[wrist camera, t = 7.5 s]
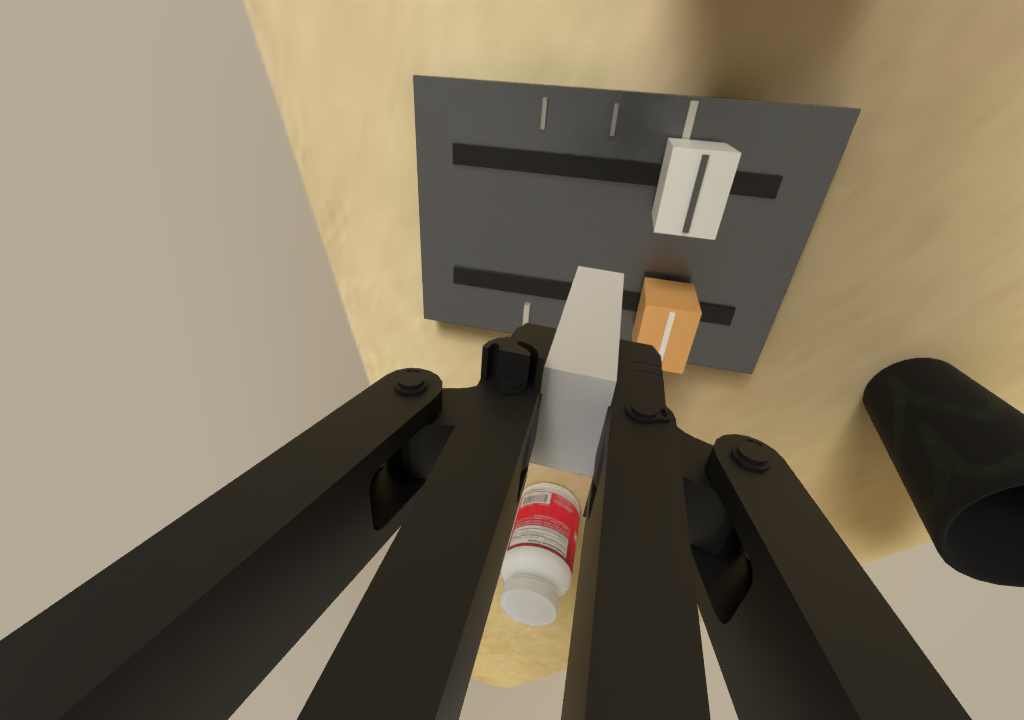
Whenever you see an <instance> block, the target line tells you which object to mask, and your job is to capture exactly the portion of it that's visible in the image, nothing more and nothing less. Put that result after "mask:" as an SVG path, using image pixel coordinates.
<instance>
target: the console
mask: <svg viewBox="0 0 1024 720" xmlns="http://www.w3.org/2000/svg"><path fill="white" fill-rule="evenodd" d="M413 84H414V106H415V128H416V150H417V172H418V194H419V216H420V238H421V260H422V282H423V304H424V319H430V320H436V321H442V322H448V323H454V324H460V325H465V326H471V327H477V328H483V329H489V330H495V331H501V332H507V333H514V331H515V329H517V328H519V327H520V326H522V325H524V324H525V323H530V324H536V325H541V326H546V327H551V328H558V325H559V322H560V319H561V316H562V313H563V310H564V307H565V304H566V301H567V298H568V295H569V292H570V289H571V286H572V283H573V280H574V277H575V274H576V272H577V269H578V266H582V267H588V268H594V269H600V270H606V271H612V272H618V273H624V282H623V297H622V311H621V325H620V339H622V340H627V341H632V331H633V327H634V322H635V318H636V314H637V309H638V305H639V301H640V296H641V292H642V288H643V283H644V279H645V277H648V278H655V279H662V280H669V281H676V282H683V283H690V284H694V287H695V290H696V294H697V298H698V301H699V305H700V308H701V312H702V315H701V318H700V321H699V324H698V327H697V330H696V334H695V337H694V340H693V343H692V346H691V350H690V353H689V356H688V359H687V362H686V363H689V364H695V365H701V366H707V367H713V368H719V369H724V370H730V371H736V372H742V373H748V374H752V373H753V370H754V368H755V365H756V363H757V360H758V358H759V356H760V353H761V351H762V348H763V346H764V343H765V341H766V339H767V336H768V334H769V331H770V329H771V326H772V324H773V322H774V319H775V317H776V314H777V312H778V310H779V307H780V305H781V302H782V300H783V297H784V295H785V293H786V290H787V288H788V285H789V283H790V280H791V278H792V276H793V273H794V271H795V268H796V266H797V263H798V261H799V259H800V256H801V254H802V251H803V249H804V247H805V244H806V242H807V239H808V237H809V234H810V232H811V230H812V227H813V225H814V222H815V220H816V217H817V215H818V213H819V210H820V208H821V205H822V203H823V200H824V198H825V196H826V193H827V191H828V188H829V186H830V184H831V181H832V179H833V176H834V174H835V171H836V169H837V167H838V164H839V162H840V159H841V157H842V154H843V152H844V150H845V147H846V145H847V142H848V140H849V137H850V135H851V133H852V130H853V128H854V125H855V123H856V121H857V118H858V116H859V113H860V111H861V109H856V108H847V107H834V106H821V105H807V104H794V103H781V102H768V101H754V100H741V99H728V98H715V97H701V96H688V95H675V94H662V93H649V92H635V91H622V90H609V89H596V88H582V87H569V86H556V85H543V84H529V83H516V82H503V81H490V80H476V79H463V78H450V77H437V76H422V75H413ZM668 138H678V139H689V140H700V141H711V142H722V143H727V144H728V145H730V146H731V147H733V148H735V149H736V150H738V151H739V152H741V156H740V160H739V163H738V166H737V169H736V173H735V176H734V179H733V183H732V186H731V189H730V192H729V196H728V199H727V202H726V206H725V209H724V212H723V216H722V219H721V222H720V225H719V229H718V232H717V235H716V239H715V240H711V239H703V238H695V237H687V236H679V235H671V234H663V233H655V232H654V229H653V220H652V209H653V204H654V200H655V195H656V191H657V186H658V182H659V177H660V173H661V168H662V164H663V159H664V155H665V150H666V145H667V141H668Z"/></svg>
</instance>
